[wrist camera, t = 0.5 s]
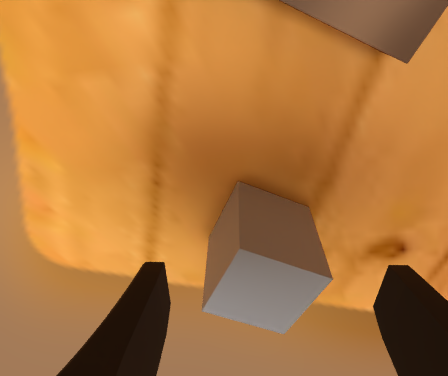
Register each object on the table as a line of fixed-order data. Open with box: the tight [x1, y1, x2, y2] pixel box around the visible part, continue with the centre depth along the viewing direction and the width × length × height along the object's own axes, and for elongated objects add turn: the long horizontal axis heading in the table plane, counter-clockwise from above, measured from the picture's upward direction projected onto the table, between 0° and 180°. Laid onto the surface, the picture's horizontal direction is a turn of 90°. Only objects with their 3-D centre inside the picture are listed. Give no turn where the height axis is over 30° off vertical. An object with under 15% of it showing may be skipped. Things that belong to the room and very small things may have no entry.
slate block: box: [202, 181, 333, 334], centre depth 19 cm, size 5×5×6 cm
